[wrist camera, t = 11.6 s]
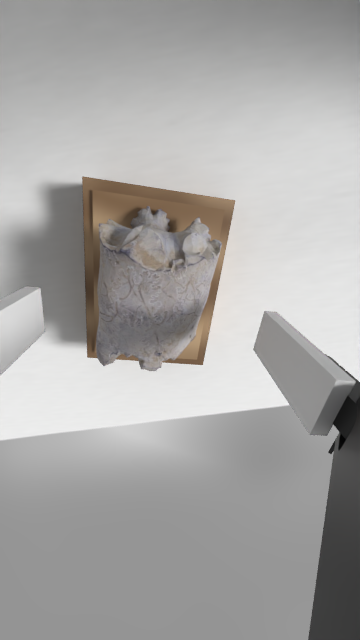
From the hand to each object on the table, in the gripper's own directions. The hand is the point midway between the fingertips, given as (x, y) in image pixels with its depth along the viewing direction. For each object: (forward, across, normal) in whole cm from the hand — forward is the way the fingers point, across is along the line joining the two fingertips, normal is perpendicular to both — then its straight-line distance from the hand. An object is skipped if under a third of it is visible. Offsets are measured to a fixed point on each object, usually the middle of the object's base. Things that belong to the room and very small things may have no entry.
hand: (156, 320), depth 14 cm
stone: (+8, 0, 0) cm, 8 cm away
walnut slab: (+12, -1, 0) cm, 12 cm away
